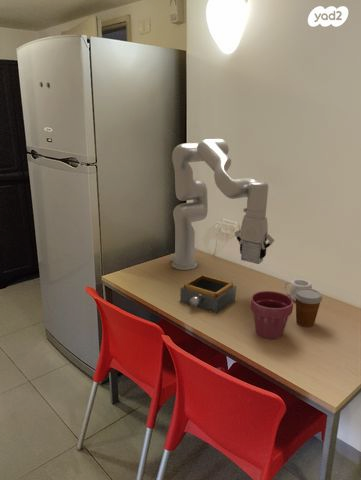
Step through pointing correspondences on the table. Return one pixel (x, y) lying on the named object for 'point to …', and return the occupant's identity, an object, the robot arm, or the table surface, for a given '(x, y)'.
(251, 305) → the plant pot
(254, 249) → the medicine box
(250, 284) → the table surface
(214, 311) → the box
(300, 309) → the disposable coffee cup
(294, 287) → the mug
